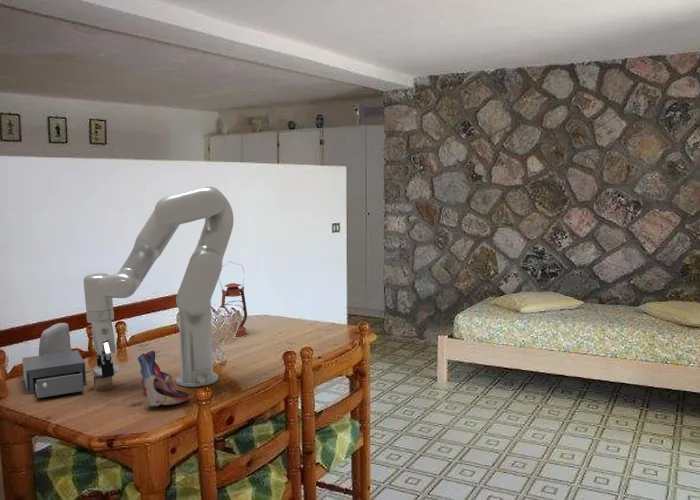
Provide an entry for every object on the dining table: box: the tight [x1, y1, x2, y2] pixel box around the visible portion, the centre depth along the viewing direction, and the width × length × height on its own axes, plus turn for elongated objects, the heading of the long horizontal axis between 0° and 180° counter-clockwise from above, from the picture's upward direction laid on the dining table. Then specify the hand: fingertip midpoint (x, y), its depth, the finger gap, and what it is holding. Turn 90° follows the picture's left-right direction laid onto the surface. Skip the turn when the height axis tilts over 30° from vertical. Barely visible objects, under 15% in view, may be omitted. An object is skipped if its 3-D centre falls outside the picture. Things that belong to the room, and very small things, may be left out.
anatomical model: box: [137, 350, 190, 407], centre depth 176 cm, size 9×13×15 cm
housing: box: [22, 350, 87, 395], centre depth 198 cm, size 16×16×7 cm
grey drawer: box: [33, 372, 84, 399], centre depth 190 cm, size 16×12×5 cm
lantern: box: [218, 260, 248, 338], centre depth 254 cm, size 10×10×30 cm
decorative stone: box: [38, 322, 73, 356], centre depth 213 cm, size 11×6×15 cm, turn 148°
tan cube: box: [93, 375, 114, 392], centre depth 192 cm, size 4×4×4 cm
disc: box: [92, 363, 119, 376], centre depth 192 cm, size 7×7×2 cm
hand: (105, 373), depth 192 cm, fingers closed on disc, 6 cm apart
